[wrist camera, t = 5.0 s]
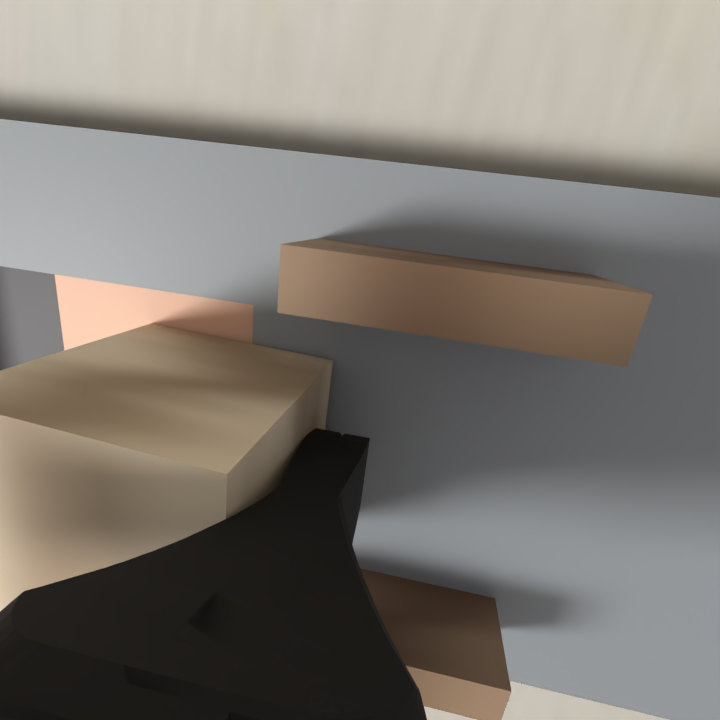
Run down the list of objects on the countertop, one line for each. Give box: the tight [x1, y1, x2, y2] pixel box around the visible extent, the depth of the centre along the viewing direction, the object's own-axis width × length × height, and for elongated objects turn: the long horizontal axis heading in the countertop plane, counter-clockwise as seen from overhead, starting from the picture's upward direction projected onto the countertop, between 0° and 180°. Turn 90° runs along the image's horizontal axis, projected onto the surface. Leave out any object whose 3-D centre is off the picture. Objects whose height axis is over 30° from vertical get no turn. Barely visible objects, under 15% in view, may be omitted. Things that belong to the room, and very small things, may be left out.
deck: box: [0, 119, 720, 720], centre depth 12 cm, size 27×14×2 cm, turn 83°
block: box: [0, 323, 333, 611], centre depth 9 cm, size 5×5×5 cm
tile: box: [55, 275, 253, 351], centre depth 13 cm, size 6×7×2 cm
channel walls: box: [277, 238, 653, 720], centre depth 10 cm, size 6×10×2 cm, turn 173°
